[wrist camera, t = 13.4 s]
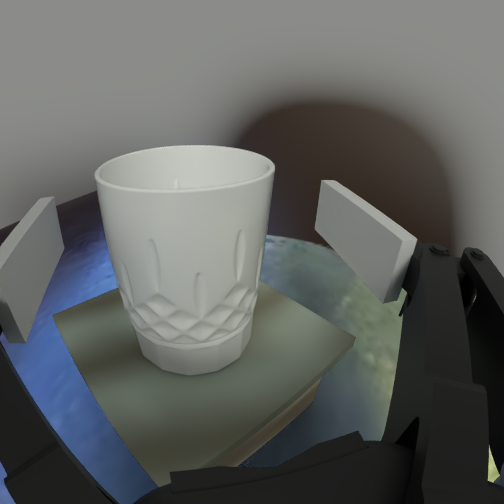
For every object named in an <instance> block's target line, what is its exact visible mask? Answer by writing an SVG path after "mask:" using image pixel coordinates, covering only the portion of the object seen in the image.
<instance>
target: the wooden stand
mask: <svg viewBox="0 0 504 504" xmlns="http://www.w3.org/2000/svg"><path fill="white" fill-rule="evenodd" d="M52 316H53V318H54V321H55V323H56V325H57V328H58V330H59V332H60V334H61V336H62V338H63V340H64V342H65V345H66V347H67V349H68V351H69V353H70V355H71V356H72V358H73V360H74V362H75V364H76V366H77V368H78V370H79V372H80V373H81V375H82V377H83V379H84V381H85V382H86V384H87V386H88V388H89V389H90V391H91V393H92V395H93V396H94V398H95V400H96V401H97V403H98V404H99V406H100V408H101V409H102V411H103V412H104V414H105V416H106V417H107V419H108V420H109V422H110V423H111V425H112V426H113V428H114V429H115V431H116V432H117V434H118V435H119V437H120V438H121V439H122V441H123V442H124V444H125V445H126V447H127V448H128V449H129V451H130V452H131V453H132V455H133V456H134V457H135V459H136V460H137V461H138V463H139V464H140V465H141V467H142V468H143V469H144V470H145V472H146V473H147V474H148V475H149V477H150V478H151V479H152V480H153V482H154V483H155V484H156V485H157V486H158V488H159V487H161V486H163V485H166V484H169V483H171V479H170V473H169V472H173V471H184V470H193V469H201V468H209V467H216V466H227V467H237V466H238V465H239V464H241V463H242V462H243V461H245V460H246V459H247V458H249V457H250V456H251V455H252V454H254V453H255V452H256V451H257V450H259V449H260V448H261V447H262V446H264V445H265V444H266V443H267V442H268V441H270V440H271V439H272V438H273V437H274V436H275V435H277V434H278V433H279V432H280V431H281V430H282V429H284V428H285V427H286V426H287V425H288V424H289V423H290V422H292V421H293V420H294V419H295V418H296V417H297V416H298V415H299V414H300V413H302V412H303V411H304V410H305V409H306V408H307V407H308V406H309V405H310V404H311V403H312V402H313V401H314V398H315V395H316V392H317V389H318V386H319V383H320V381H321V378H322V376H323V375H324V374H325V373H326V372H327V371H328V370H329V369H330V368H331V367H332V366H333V365H334V364H335V363H337V362H338V361H339V360H340V359H341V358H342V357H343V356H344V355H345V354H346V353H347V352H348V351H349V350H350V349H351V348H352V347H353V344H354V341H355V338H356V337H354V336H353V335H351V334H349V333H347V332H346V331H344V330H342V329H341V328H339V327H337V326H336V325H334V324H332V323H330V322H329V321H327V320H325V319H324V318H322V317H320V316H319V315H317V314H315V313H314V312H312V311H310V310H309V309H307V308H305V307H304V306H302V305H300V304H299V303H297V302H295V301H294V300H292V299H290V298H289V297H287V296H285V295H284V294H282V293H280V292H279V291H277V290H275V289H274V288H272V287H270V286H269V285H267V284H265V283H264V282H262V281H260V280H259V290H258V296H257V300H256V304H255V307H254V312H253V321H252V329H251V337H250V340H249V342H248V344H247V346H246V347H245V349H244V351H243V353H242V355H241V356H240V358H238V359H237V360H235V361H234V362H232V363H230V364H229V365H227V366H226V367H224V368H222V369H221V370H219V371H216V372H210V373H204V374H198V375H192V376H188V375H183V374H178V373H174V372H169V371H164V370H162V369H160V368H159V367H158V366H156V365H155V364H154V363H152V362H151V361H149V360H148V359H147V358H145V357H144V356H143V354H142V352H141V349H140V347H139V344H138V342H137V339H136V336H135V333H134V330H133V326H132V323H131V320H130V317H129V316H128V314H127V313H126V311H125V308H124V304H123V300H122V297H121V294H120V291H119V288H116V289H114V290H111V291H109V292H107V293H104V294H102V295H99V296H97V297H94V298H92V299H90V300H87V301H85V302H82V303H80V304H78V305H75V306H73V307H71V308H68V309H66V310H63V311H61V312H59V313H56V314H54V315H52Z"/></svg>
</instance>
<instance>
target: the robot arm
mask: <svg viewBox="0 0 504 504" xmlns="http://www.w3.org/2000/svg"><path fill="white" fill-rule="evenodd" d="M315 230H316V231H317V232H318V233H319V234H320V235H321V236H322V237H323V238H324V239H325V240H326V241H327V242H328V243H329V244H330V246H331V247H332V248H333V249H334V250H335V251H336V252H337V253H338V254H339V255H340V256H341V257H342V258H343V260H344V261H345V262H346V263H347V264H348V265H349V266H350V267H351V268H352V269H353V271H354V272H355V273H356V274H357V275H358V276H359V277H360V278H361V279H362V280H363V282H364V283H365V284H366V285H367V286H368V287H369V288H370V289H371V291H372V292H373V293H374V294H375V295H376V296H377V297H378V299H379V300H380V301H381V302H382V303H388V302H392V301H397V300H398V297H399V294H400V292H401V289H402V288H403V289H404V290H405V291H406V292H407V295H406V298H405V301H404V303H403V306H402V308H401V311H400V314H399V316H402V314H403V321H402V331H401V339H400V347H399V355H398V362H397V369H396V375H395V381H394V387H393V392H392V398H391V403H390V408H389V413H388V418H387V422H386V427H385V431H384V435H383V437H382V440H381V441H363V439H362V437H361V435H360V433H359V431H356V432H353V433H350V434H347V435H344V436H341V437H338V438H335V439H332V440H329V441H326V442H323V443H319V444H317V445H315V446H313V447H312V448H310V449H308V450H306V451H304V452H303V453H301V454H299V455H297V456H295V457H294V458H292V459H290V460H288V461H286V462H284V463H282V464H280V465H278V466H275V467H270V468H256V467H227V466H216V467H209V468H201V469H193V470H184V471H173V472H169V473H170V479H171V483H169V484H166V485H163V486H161V487H159V488H157V489H154V490H152V491H150V492H149V493H147V494H145V495H144V496H142V497H141V498H140V499H138V500H137V501H136V502H135V503H134V504H504V278H503V276H502V275H501V273H500V272H499V271H498V269H497V268H496V266H495V265H494V264H493V262H492V261H491V260H490V258H489V257H488V256H487V255H486V254H484V253H483V252H482V251H481V250H479V249H476V248H465V249H464V252H463V254H462V257H461V258H455V257H453V255H452V253H451V252H450V251H449V250H448V249H447V248H445V247H443V246H442V245H439V244H434V243H426V244H422V243H421V242H420V241H418V240H417V239H416V238H415V237H414V236H412V235H411V234H410V233H409V232H407V231H406V230H404V229H403V228H402V227H401V226H399V225H398V224H396V223H395V222H393V221H392V220H391V219H390V218H388V217H387V216H386V215H384V214H383V213H381V212H380V211H379V210H377V209H376V208H374V207H373V206H372V205H370V204H368V203H367V202H366V201H364V200H363V199H362V198H360V197H359V196H357V195H356V194H354V193H353V192H351V191H350V190H348V189H347V188H345V187H344V186H342V185H341V184H339V183H338V182H336V181H334V180H322V182H321V189H320V196H319V203H318V211H317V217H316V224H315ZM64 249H65V248H64V244H63V240H62V235H61V231H60V226H59V221H58V216H57V210H56V205H55V199H54V196H53V197H46V198H40V199H39V200H38V201H37V203H36V204H35V205H34V206H33V207H32V209H30V211H29V212H28V213H27V214H26V215H25V217H24V218H23V219H22V220H21V221H20V222H19V224H18V225H17V226H16V227H15V228H14V230H13V231H12V232H11V233H10V235H9V236H8V237H7V239H6V240H5V241H4V242H3V244H2V245H1V246H0V335H1V333H2V331H3V333H4V335H5V337H6V339H7V340H8V342H9V343H26V342H27V339H28V336H29V333H30V330H31V327H32V325H33V322H34V319H35V316H36V314H37V311H38V309H39V306H40V303H41V301H42V298H43V296H44V293H45V291H46V289H47V286H48V284H49V282H50V279H51V277H52V275H53V272H54V270H55V268H56V266H57V263H58V261H59V259H60V257H61V255H62V253H63V251H64ZM476 294H477V295H476ZM475 296H476V299H475V301H474V303H473V300H474V298H475ZM489 446H490V450H491V454H492V456H493V459H494V462H495V465H496V468H497V470H498V472H499V474H500V476H499V477H498V478H497V479H496V480H495V481H494V483H492V482H489V481H488V462H489ZM0 461H1V463H2V465H3V467H4V469H5V471H6V473H7V477H6V478H4V482H5V486H6V488H7V490H8V492H9V493H10V495H11V497H12V498H13V500H14V502H15V503H16V504H119V503H118V502H117V501H116V500H115V499H114V498H113V497H112V496H111V495H110V494H109V493H108V492H107V491H106V490H105V489H104V488H103V487H102V486H101V485H100V484H99V483H98V482H97V481H96V480H95V479H94V478H93V477H92V476H91V474H90V473H89V472H88V471H87V470H86V469H85V468H84V466H83V465H82V464H81V463H80V462H79V461H78V459H77V458H76V457H75V456H74V455H73V453H72V452H71V451H70V450H69V448H68V447H67V446H66V445H65V443H64V442H63V441H62V439H61V438H60V437H59V435H58V434H57V433H56V431H55V430H54V429H53V427H52V426H51V425H50V423H49V422H48V420H47V419H46V417H45V416H44V415H43V413H42V412H41V410H40V409H39V407H38V406H37V404H36V403H35V401H34V399H33V398H32V396H31V395H30V393H29V392H28V390H27V388H26V387H25V385H24V383H23V382H22V380H21V378H20V377H19V375H18V373H17V371H16V370H15V368H14V366H13V364H12V362H11V360H10V359H9V357H8V355H7V353H6V351H5V349H4V347H3V345H2V343H1V342H0Z"/></svg>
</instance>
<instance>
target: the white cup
mask: <svg viewBox="0 0 504 504" xmlns="http://www.w3.org/2000/svg"><path fill="white" fill-rule="evenodd" d="M274 171H275V166H274V164H273V162H272V161H271V160H269V159H268V158H266V157H264V156H262V155H260V154H257V153H254V152H251V151H247V150H242V149H237V148H231V147H222V146H208V145H183V146H168V147H159V148H152V149H146V150H141V151H136V152H132V153H128V154H125V155H122V156H119V157H116V158H114V159H112V160H109V161H107V162H106V163H104V164H102V165H101V166H100V167H99V168H98V169H97V170H96V172H95V182H96V188H97V194H98V200H99V205H100V211H101V216H102V221H103V226H104V231H105V236H106V240H107V245H108V250H109V254H110V259H111V263H112V267H113V269H114V272H115V275H116V280H117V284H118V288H119V291H120V294H121V297H122V300H123V304H124V308H125V311H126V313H127V314H128V316H129V317H130V320H131V323H132V326H133V330H134V333H135V336H136V339H137V342H138V344H139V347H140V349H141V352H142V354H143V356H144V357H145V358H147V359H148V360H149V361H151V362H152V363H154V364H155V365H156V366H158V367H159V368H160V369H162V370H164V371H169V372H174V373H178V374H183V375H188V376H192V375H198V374H204V373H210V372H216V371H219V370H221V369H222V368H224V367H226V366H227V365H229V364H230V363H232V362H234V361H235V360H237V359H238V358H240V356H241V355H242V353H243V351H244V349H245V347H246V346H247V344H248V342H249V340H250V337H251V329H252V321H253V312H254V307H255V304H256V300H257V296H258V290H259V280H260V275H261V270H262V265H263V258H264V250H265V242H266V234H267V226H268V218H269V210H270V202H271V194H272V186H273V179H274Z"/></svg>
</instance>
